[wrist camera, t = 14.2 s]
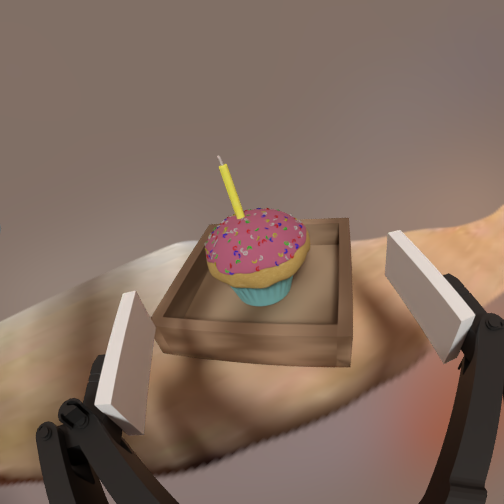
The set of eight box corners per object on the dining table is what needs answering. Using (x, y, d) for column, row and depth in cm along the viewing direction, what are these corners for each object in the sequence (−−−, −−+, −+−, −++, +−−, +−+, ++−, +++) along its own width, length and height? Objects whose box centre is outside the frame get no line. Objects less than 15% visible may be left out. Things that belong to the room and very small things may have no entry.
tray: (163, 352, 24) (146, 325, 22) (217, 250, 36) (209, 224, 34) (350, 367, 20) (352, 336, 18) (349, 246, 32) (348, 217, 30)
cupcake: (200, 298, 28) (156, 175, 21) (260, 250, 33) (236, 138, 26) (272, 339, 22) (238, 187, 16) (332, 275, 27) (321, 142, 21)
